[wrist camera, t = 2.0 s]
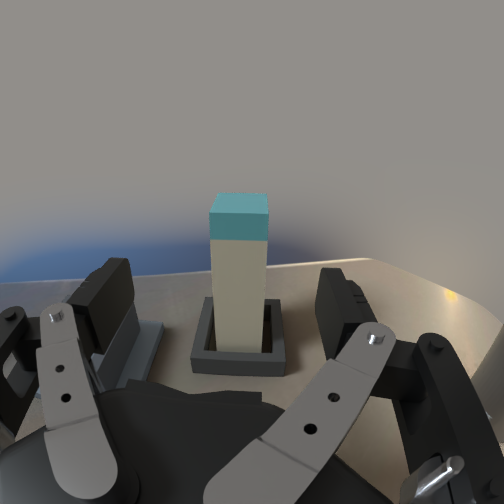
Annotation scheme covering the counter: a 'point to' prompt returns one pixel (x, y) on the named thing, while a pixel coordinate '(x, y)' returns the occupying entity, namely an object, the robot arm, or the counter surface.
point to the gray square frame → (239, 360)
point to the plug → (239, 269)
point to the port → (127, 352)
